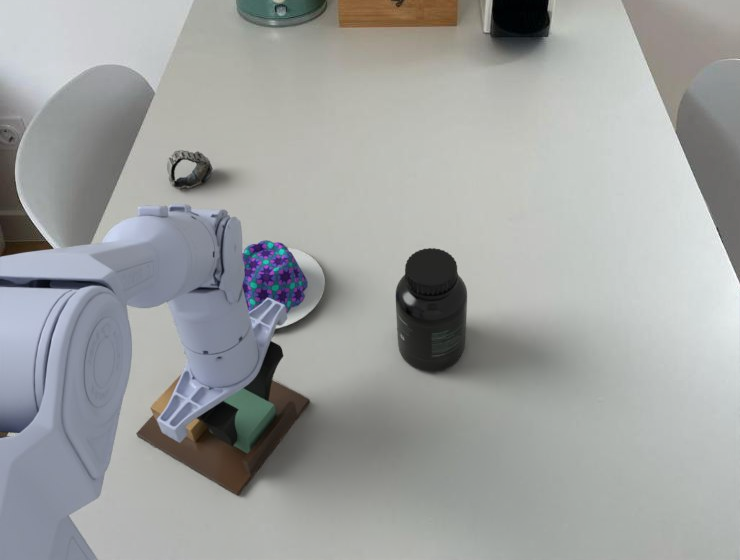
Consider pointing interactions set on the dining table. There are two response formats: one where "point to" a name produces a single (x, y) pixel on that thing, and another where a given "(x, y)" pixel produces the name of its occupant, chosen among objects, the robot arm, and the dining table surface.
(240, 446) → the green block
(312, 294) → the pudding
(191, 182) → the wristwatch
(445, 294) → the supplement bottle
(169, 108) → the dining table surface
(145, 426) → the dock
